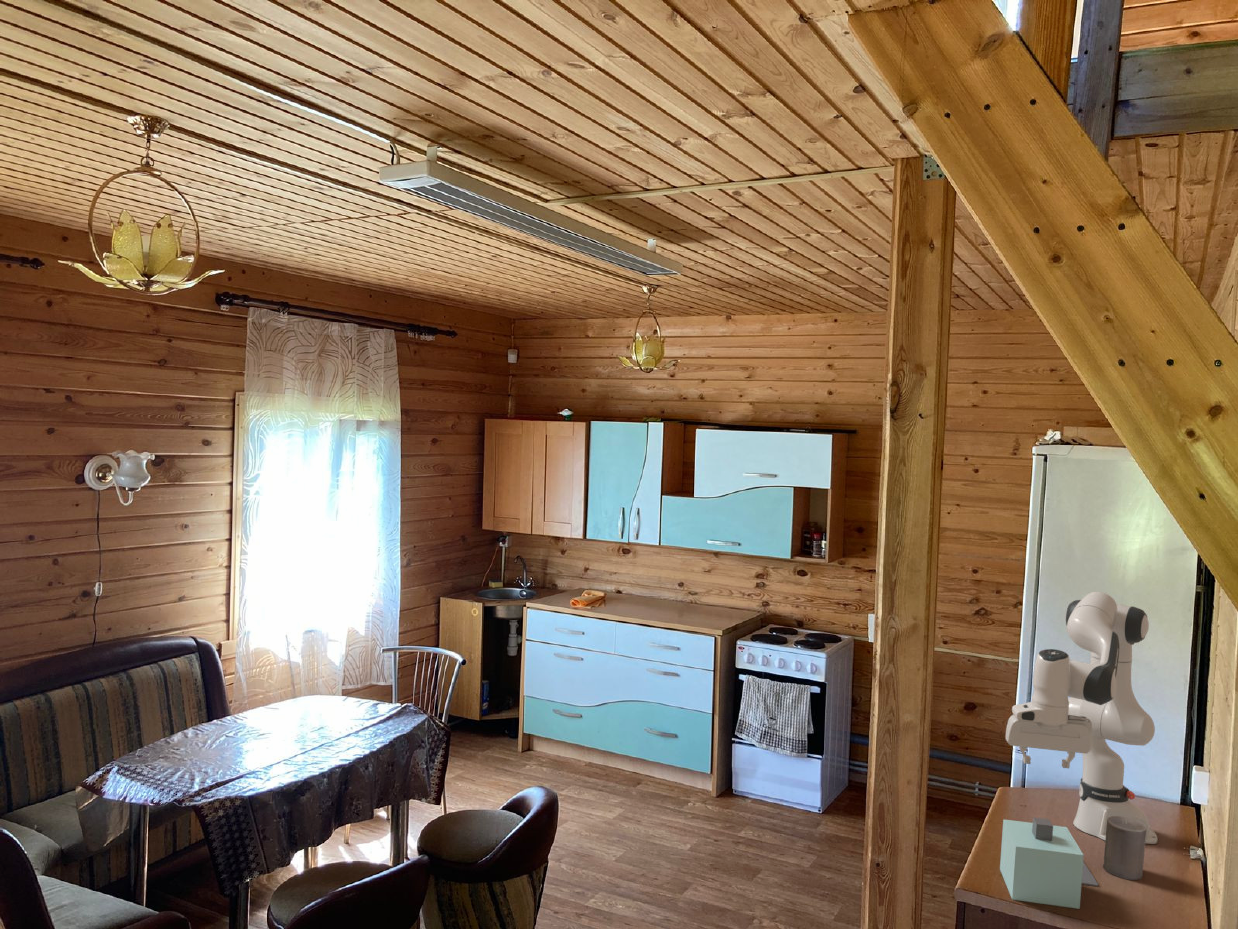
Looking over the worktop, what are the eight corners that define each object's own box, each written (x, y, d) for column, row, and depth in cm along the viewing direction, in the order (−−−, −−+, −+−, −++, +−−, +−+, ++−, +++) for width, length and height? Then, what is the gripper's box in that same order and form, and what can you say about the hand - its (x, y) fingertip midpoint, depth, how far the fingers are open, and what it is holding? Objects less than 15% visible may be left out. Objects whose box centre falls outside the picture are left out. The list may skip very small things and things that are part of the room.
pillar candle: (1094, 865, 259) (1099, 813, 258) (1120, 861, 262) (1125, 809, 261) (1125, 882, 249) (1129, 828, 249) (1151, 878, 253) (1155, 824, 252)
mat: (1078, 855, 265) (1078, 853, 265) (1098, 886, 246) (1098, 885, 246) (1007, 845, 269) (1007, 844, 269) (1022, 876, 250) (1022, 875, 250)
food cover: (1062, 877, 250) (1067, 812, 248) (1079, 909, 234) (1084, 839, 233) (999, 869, 253) (1004, 805, 252) (1012, 899, 237) (1016, 831, 236)
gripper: (1089, 713, 242) (1085, 765, 243) (1005, 705, 246) (1002, 756, 247) (1096, 721, 236) (1092, 774, 237) (1010, 712, 240) (1007, 765, 241)
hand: (1046, 765), depth 242 cm, fingers open, 8 cm apart
